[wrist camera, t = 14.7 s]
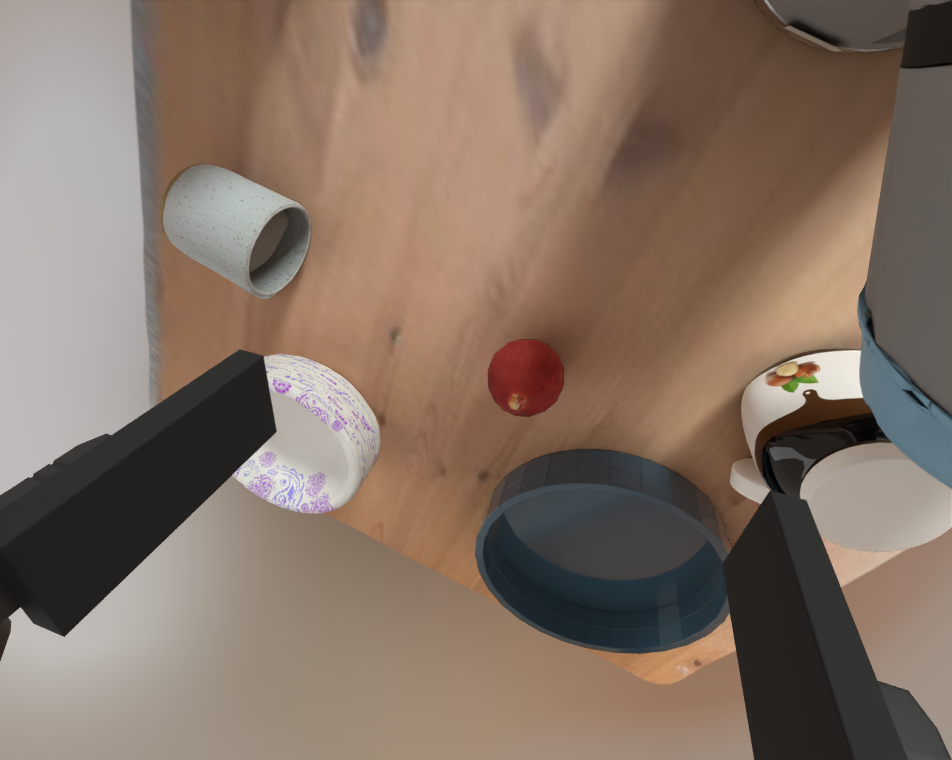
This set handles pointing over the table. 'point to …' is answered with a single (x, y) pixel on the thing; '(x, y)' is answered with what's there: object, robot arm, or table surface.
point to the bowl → (605, 552)
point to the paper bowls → (312, 439)
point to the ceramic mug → (236, 227)
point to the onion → (525, 377)
